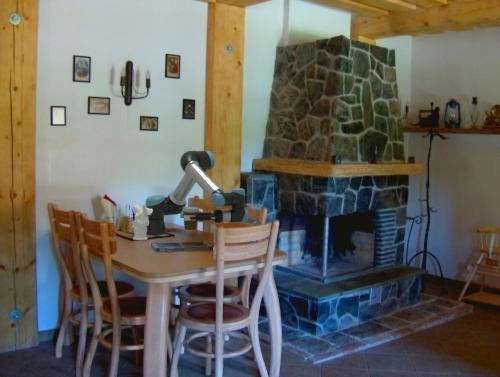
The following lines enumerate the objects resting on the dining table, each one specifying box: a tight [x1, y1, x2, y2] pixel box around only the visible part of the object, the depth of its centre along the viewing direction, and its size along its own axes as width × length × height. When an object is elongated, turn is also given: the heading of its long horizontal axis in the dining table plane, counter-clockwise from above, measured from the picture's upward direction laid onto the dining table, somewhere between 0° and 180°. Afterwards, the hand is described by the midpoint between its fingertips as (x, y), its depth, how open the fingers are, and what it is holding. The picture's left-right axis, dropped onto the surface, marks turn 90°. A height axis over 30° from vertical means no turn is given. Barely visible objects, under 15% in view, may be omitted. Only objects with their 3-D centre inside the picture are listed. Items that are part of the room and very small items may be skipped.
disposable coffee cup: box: [182, 206, 200, 231], centre depth 321 cm, size 10×10×12 cm
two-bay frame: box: [150, 240, 213, 253], centre depth 322 cm, size 20×31×2 cm, turn 109°
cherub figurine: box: [131, 203, 153, 241], centre depth 344 cm, size 12×12×22 cm
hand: (182, 216), depth 319 cm, fingers closed on disposable coffee cup, 8 cm apart
